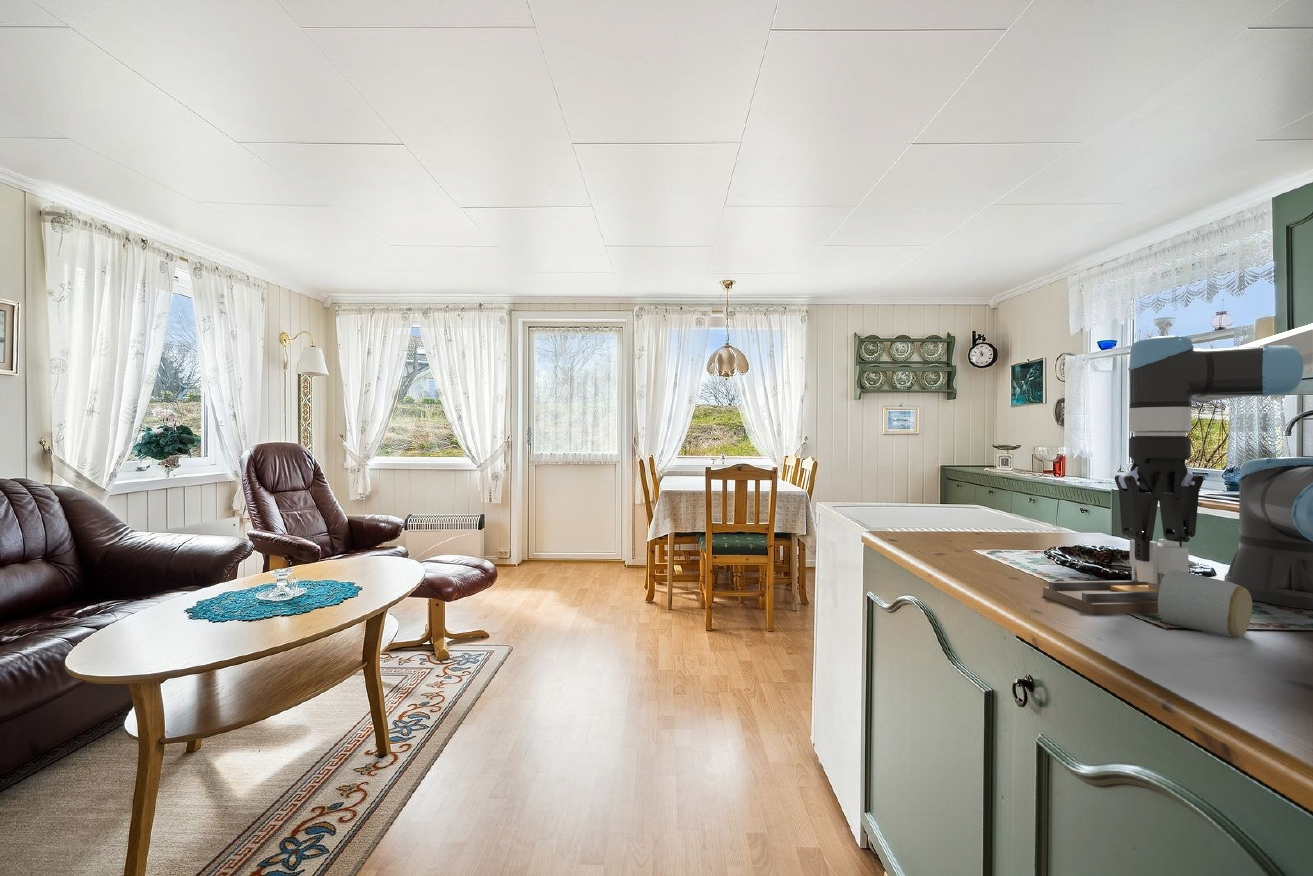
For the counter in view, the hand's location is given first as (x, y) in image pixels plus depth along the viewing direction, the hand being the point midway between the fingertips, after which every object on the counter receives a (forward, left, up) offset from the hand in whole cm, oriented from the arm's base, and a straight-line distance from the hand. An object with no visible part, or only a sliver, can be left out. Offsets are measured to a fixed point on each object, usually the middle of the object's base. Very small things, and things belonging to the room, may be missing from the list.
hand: (1157, 581), depth 93 cm
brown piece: (+7, 0, -4) cm, 7 cm away
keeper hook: (0, -4, -2) cm, 4 cm away
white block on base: (+1, 0, -2) cm, 2 cm away
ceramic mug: (+5, +12, -4) cm, 13 cm away
